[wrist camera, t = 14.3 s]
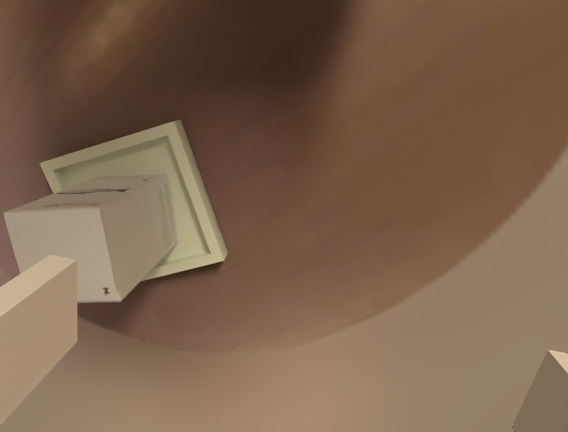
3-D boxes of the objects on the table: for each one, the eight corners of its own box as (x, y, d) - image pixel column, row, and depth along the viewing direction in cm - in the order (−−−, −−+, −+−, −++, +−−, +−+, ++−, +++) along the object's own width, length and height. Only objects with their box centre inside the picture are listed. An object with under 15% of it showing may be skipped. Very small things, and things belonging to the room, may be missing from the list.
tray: (52, 159, 40) (39, 162, 38) (181, 119, 38) (173, 121, 36) (107, 283, 44) (98, 291, 42) (228, 253, 42) (223, 260, 40)
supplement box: (169, 171, 39) (102, 206, 27) (179, 243, 41) (122, 306, 29) (96, 174, 39) (-1, 210, 27) (109, 245, 41) (25, 307, 29)
